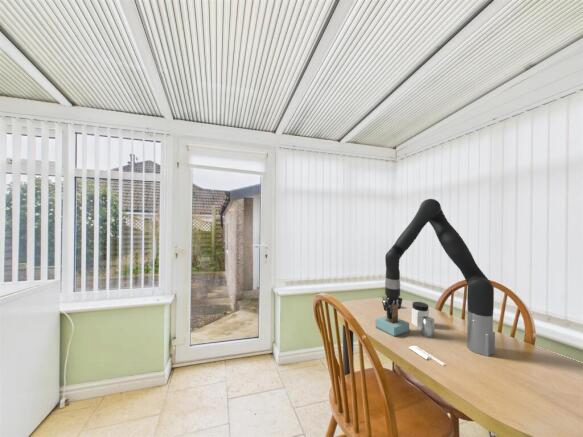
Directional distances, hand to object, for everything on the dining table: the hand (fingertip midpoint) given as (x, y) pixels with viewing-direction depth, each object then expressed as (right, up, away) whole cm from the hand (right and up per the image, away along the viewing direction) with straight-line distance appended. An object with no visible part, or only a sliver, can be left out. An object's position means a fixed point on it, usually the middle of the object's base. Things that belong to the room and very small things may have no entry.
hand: (392, 317), depth 129 cm
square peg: (0, -4, 0) cm, 4 cm away
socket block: (0, -7, 0) cm, 7 cm away
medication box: (+16, -7, +39) cm, 43 cm away
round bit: (+16, -7, -6) cm, 18 cm away
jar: (+19, -7, +7) cm, 21 cm away
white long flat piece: (+3, -7, -26) cm, 27 cm away
